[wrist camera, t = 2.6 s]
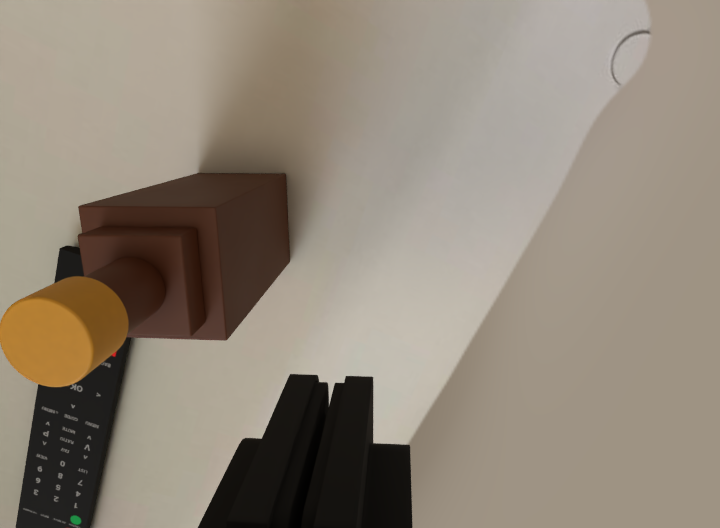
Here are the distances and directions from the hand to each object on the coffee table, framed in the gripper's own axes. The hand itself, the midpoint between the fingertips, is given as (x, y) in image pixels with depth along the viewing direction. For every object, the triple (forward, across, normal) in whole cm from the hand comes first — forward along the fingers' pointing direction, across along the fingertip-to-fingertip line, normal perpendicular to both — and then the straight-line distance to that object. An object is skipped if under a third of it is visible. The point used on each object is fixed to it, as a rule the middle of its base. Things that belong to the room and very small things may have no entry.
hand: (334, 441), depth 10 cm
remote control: (+23, +21, +14) cm, 34 cm away
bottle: (+22, +8, 0) cm, 24 cm away
